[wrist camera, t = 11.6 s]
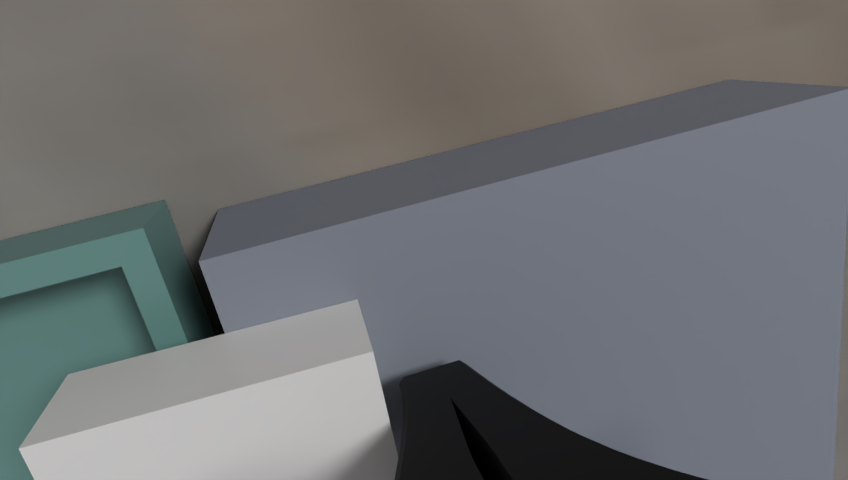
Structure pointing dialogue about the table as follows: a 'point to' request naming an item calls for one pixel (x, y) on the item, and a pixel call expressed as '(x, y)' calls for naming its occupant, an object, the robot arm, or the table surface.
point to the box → (87, 309)
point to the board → (594, 272)
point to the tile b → (227, 409)
